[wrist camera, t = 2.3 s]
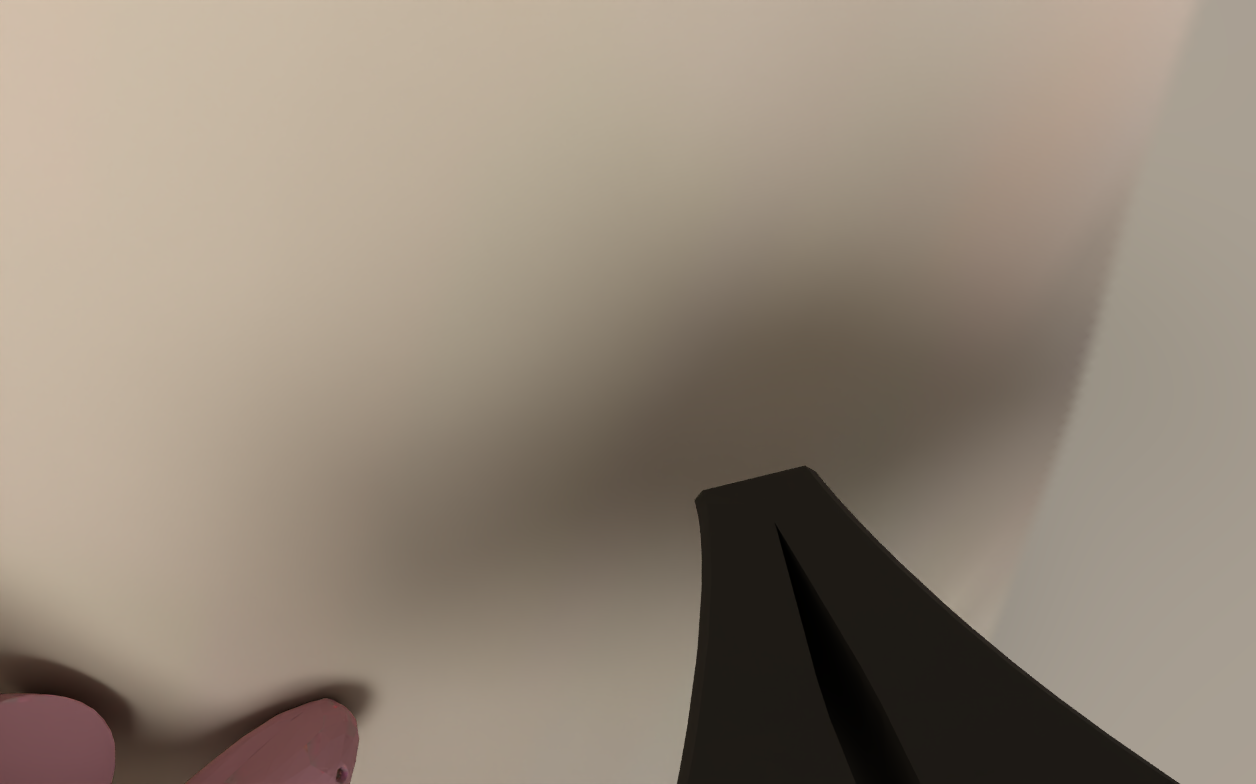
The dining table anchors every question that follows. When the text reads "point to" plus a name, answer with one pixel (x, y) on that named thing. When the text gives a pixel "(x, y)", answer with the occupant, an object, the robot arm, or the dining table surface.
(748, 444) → the dining table surface
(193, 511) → the dining table surface
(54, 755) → the video game controller
